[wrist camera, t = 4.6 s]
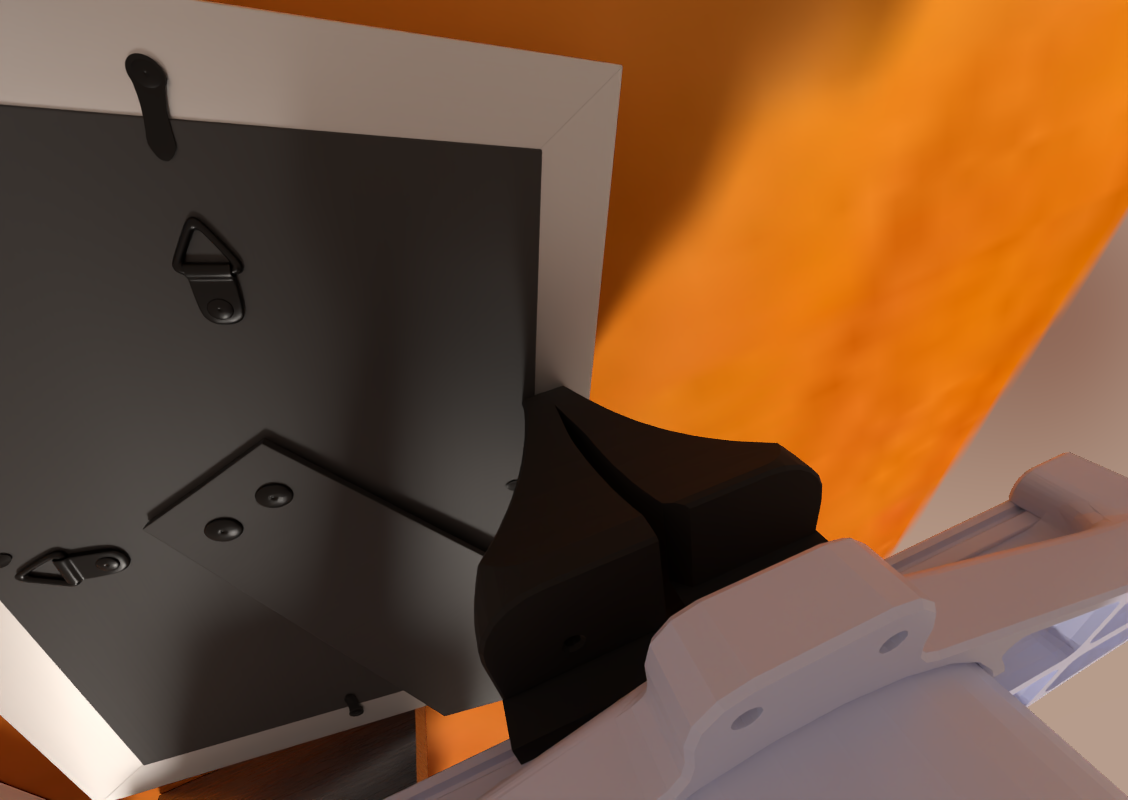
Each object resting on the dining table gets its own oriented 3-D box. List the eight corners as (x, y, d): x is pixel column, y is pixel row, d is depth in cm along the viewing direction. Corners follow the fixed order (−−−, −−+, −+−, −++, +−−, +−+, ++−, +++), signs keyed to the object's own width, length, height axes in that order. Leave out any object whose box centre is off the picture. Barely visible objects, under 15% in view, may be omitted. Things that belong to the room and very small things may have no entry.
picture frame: (549, 621, 20) (586, 79, 10) (568, 681, 18) (641, 56, 8) (131, 733, 15) (-546, -78, 6) (83, 836, 13) (-1244, -250, 3)
